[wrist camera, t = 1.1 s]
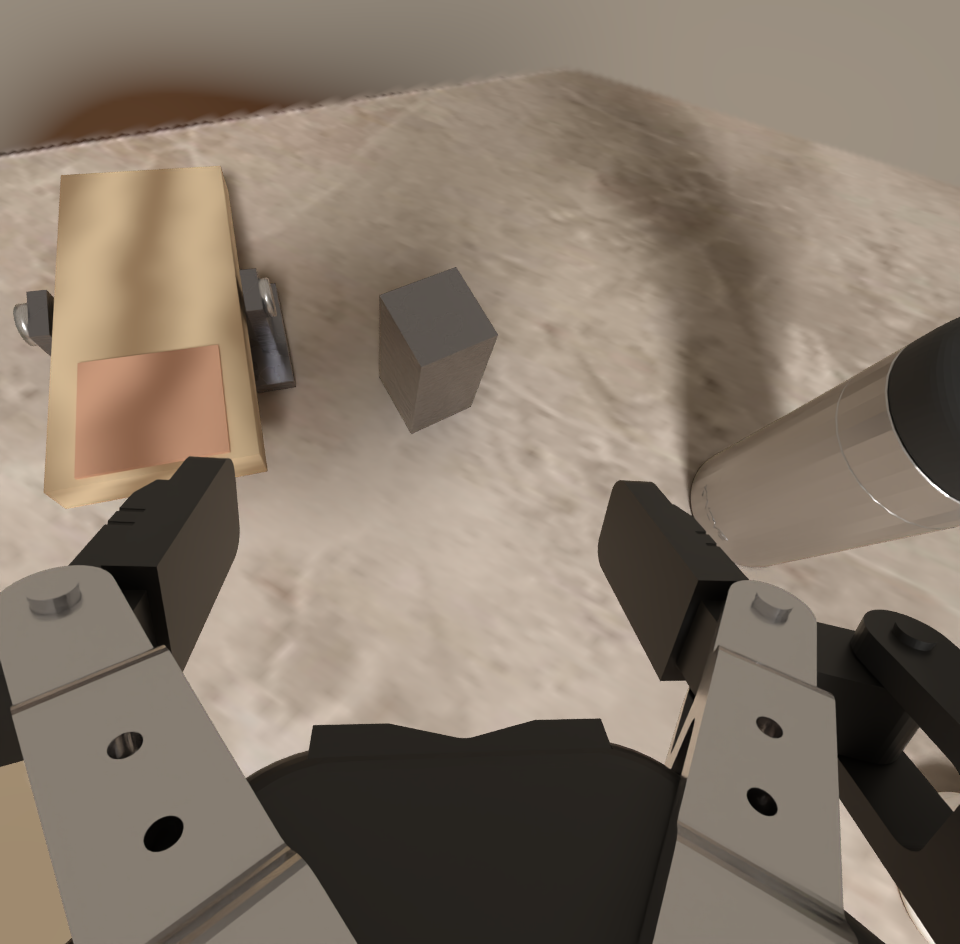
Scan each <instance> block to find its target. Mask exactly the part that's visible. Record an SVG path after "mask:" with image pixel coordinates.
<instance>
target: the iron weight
mask: <svg viewBox="0 0 960 944" xmlns="http://www.w3.org/2000/svg"><path fill="white" fill-rule="evenodd" d="M497 336H498V334H497V332H496V331H495V329H494V328H493V326H492V324H491V323H490V321H489V319H488V318H487V316H486V315H485V313H484V311H483V310H482V308H481V307H480V305H479V303H478V302H477V300H476V299H475V297H474V295H473V294H472V292H471V290H470V289H469V287H468V286H467V284H466V282H465V281H464V279H463V278H462V276H461V274H460V273H459V271H458V269H457V268H456V267H455V268H452V269H449V270H447V271H444V272H441V273H439V274H436V275H433V276H430V277H428V278H425V279H422V280H420V281H417V282H414V283H411V284H409V285H406V286H403V287H401V288H398V289H395V290H392V291H390V292H387V293H384V294H382V295H380V327H379V377H380V379H381V381H382V383H383V385H384V386H385V388H386V390H387V392H388V394H389V395H390V397H391V399H392V401H393V402H394V404H395V406H396V408H397V410H398V411H399V413H400V415H401V417H402V418H403V420H404V422H405V424H406V426H407V427H408V429H409V431H410V433H411V434H413V433H415V432H417V431H419V430H421V429H423V428H426V427H428V426H430V425H432V424H434V423H436V422H439V421H441V420H443V419H445V418H447V417H449V416H452V415H454V414H456V413H458V412H460V411H462V410H465V409H467V408H469V407H471V405H472V402H473V399H474V397H475V394H476V392H477V389H478V386H479V384H480V381H481V378H482V376H483V373H484V371H485V368H486V365H487V363H488V360H489V357H490V355H491V352H492V350H493V347H494V344H495V342H496V339H497Z"/></svg>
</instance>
